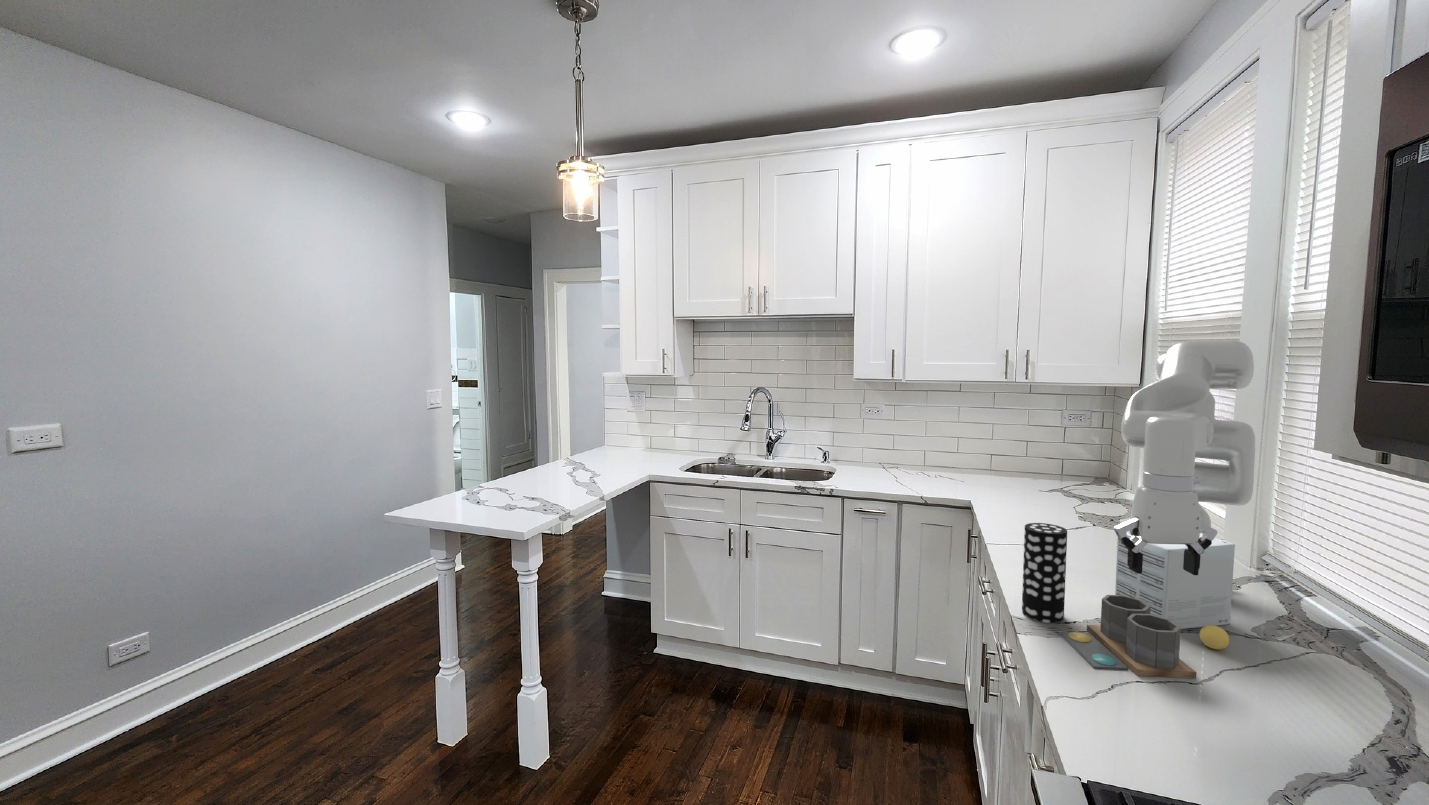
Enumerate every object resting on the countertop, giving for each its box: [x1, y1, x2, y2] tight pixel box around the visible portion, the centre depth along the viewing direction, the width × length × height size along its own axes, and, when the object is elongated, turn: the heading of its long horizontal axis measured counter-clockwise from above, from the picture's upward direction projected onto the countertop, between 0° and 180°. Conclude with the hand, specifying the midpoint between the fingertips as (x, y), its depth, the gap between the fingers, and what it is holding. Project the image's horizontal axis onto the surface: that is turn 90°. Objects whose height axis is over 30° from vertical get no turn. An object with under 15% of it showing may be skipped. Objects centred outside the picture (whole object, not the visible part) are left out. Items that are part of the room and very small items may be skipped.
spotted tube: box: [1021, 522, 1068, 624], centre depth 133 cm, size 8×8×20 cm
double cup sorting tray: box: [1086, 594, 1197, 679], centre depth 117 cm, size 10×18×8 cm, turn 174°
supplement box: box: [1114, 531, 1236, 630], centre depth 132 cm, size 17×13×18 cm
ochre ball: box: [1199, 625, 1230, 650], centre depth 118 cm, size 4×4×4 cm
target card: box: [1058, 631, 1129, 671], centre depth 118 cm, size 6×14×1 cm, turn 174°
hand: (1162, 572), depth 112 cm, fingers open, 9 cm apart
